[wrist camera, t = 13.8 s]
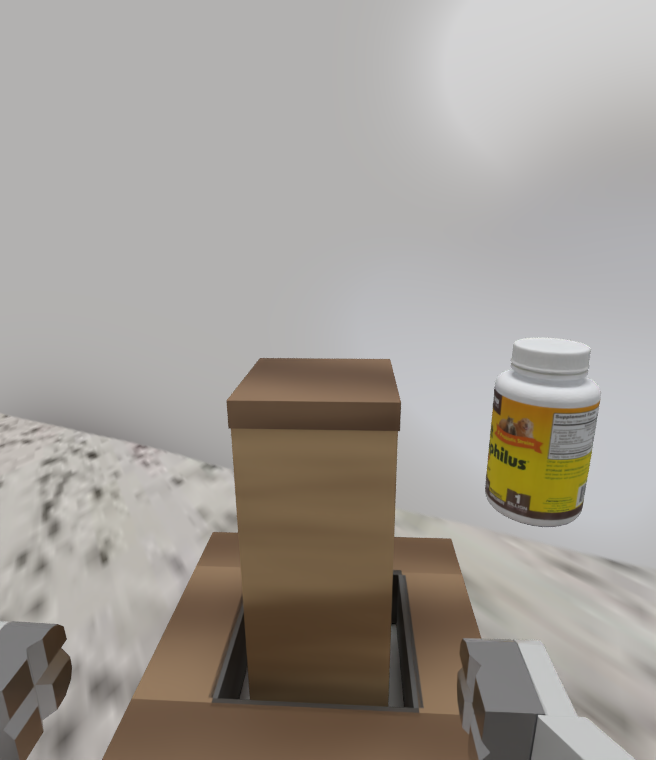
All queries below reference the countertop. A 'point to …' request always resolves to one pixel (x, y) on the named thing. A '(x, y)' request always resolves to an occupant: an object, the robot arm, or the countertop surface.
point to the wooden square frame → (297, 719)
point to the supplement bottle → (542, 432)
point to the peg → (316, 526)
